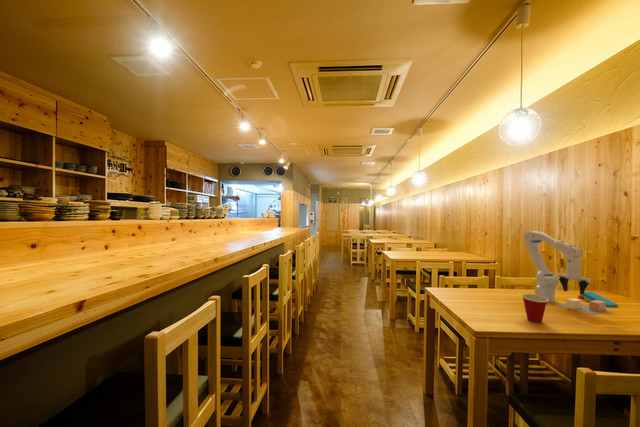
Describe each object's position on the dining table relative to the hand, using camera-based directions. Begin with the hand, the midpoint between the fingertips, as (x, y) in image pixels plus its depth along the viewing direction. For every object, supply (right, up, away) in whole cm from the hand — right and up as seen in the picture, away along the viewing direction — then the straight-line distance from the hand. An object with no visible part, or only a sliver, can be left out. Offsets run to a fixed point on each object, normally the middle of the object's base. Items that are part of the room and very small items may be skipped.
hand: (573, 292), depth 161 cm
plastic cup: (-36, -9, -19) cm, 41 cm away
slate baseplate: (+5, -9, 0) cm, 10 cm away
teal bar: (+22, -10, +11) cm, 27 cm away
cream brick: (0, -8, 0) cm, 8 cm away
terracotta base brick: (+10, -8, -4) cm, 14 cm away
